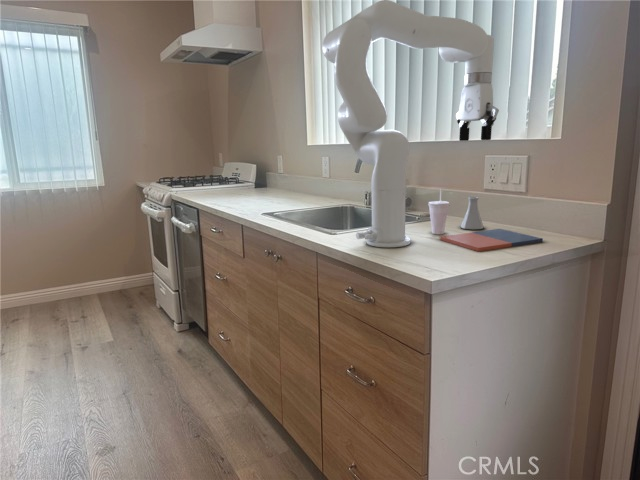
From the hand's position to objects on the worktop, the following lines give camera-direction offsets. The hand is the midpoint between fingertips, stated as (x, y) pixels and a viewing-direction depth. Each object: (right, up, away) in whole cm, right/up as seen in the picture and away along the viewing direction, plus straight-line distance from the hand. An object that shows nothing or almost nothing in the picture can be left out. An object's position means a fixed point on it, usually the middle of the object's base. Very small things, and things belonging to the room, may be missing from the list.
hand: (474, 140), depth 131 cm
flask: (+3, -27, +10) cm, 28 cm away
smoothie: (-10, -28, +4) cm, 30 cm away
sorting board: (+1, -31, -9) cm, 32 cm away
